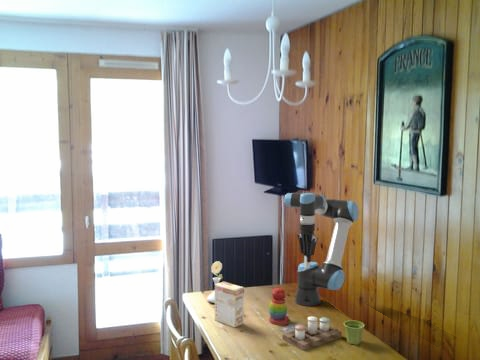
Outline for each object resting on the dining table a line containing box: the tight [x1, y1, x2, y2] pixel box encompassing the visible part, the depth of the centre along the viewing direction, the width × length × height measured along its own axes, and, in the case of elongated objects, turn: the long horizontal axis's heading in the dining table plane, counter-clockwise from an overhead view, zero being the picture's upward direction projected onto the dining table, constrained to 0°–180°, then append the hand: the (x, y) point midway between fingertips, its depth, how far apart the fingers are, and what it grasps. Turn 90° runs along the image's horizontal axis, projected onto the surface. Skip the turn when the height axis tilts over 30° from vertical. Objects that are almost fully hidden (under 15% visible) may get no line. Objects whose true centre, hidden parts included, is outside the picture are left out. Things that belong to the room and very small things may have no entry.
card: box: [278, 322, 308, 334], centre depth 224 cm, size 14×6×1 cm, turn 125°
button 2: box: [319, 316, 331, 333], centre depth 217 cm, size 5×5×7 cm
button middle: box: [307, 316, 319, 335], centre depth 212 cm, size 5×5×7 cm
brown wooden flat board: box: [282, 322, 343, 351], centre depth 213 cm, size 25×14×2 cm, turn 125°
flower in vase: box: [206, 260, 224, 304], centre depth 261 cm, size 13×11×25 cm
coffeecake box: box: [214, 281, 245, 329], centre depth 231 cm, size 15×7×20 cm, turn 47°
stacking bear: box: [268, 286, 290, 327], centre depth 232 cm, size 11×10×18 cm
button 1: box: [295, 324, 306, 341], centre depth 208 cm, size 5×5×7 cm
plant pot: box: [343, 319, 365, 345], centre depth 208 cm, size 9×9×9 cm
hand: (307, 267), depth 231 cm, fingers closed
